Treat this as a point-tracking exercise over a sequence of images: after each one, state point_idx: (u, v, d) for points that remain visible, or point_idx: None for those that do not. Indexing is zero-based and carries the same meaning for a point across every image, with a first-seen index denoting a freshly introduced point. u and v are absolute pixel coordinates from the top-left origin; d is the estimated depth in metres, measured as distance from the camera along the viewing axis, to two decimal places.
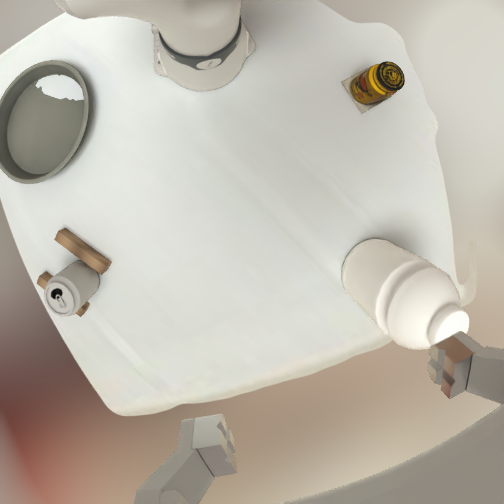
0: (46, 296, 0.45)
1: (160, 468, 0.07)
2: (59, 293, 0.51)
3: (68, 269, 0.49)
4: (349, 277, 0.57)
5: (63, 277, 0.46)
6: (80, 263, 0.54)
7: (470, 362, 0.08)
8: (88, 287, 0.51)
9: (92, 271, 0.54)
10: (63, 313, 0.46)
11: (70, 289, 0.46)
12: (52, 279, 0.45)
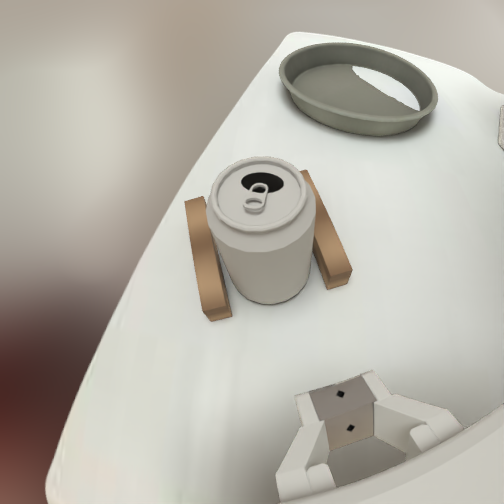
0: (232, 170, 0.21)
1: (293, 446, 0.07)
2: None
3: None
4: None
5: None
6: None
7: (371, 409, 0.08)
8: (305, 258, 0.23)
9: None
10: None
11: None
12: None
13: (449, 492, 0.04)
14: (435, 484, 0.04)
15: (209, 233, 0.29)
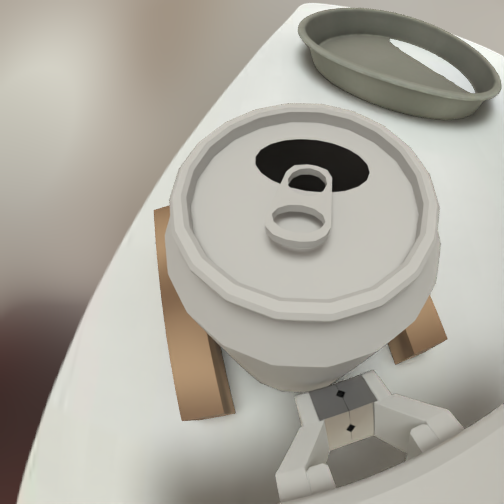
0: (233, 133, 0.08)
1: (293, 446, 0.07)
2: None
3: None
4: None
5: None
6: None
7: (372, 409, 0.08)
8: None
9: None
10: None
11: None
12: None
13: (449, 492, 0.04)
14: (435, 484, 0.04)
15: None
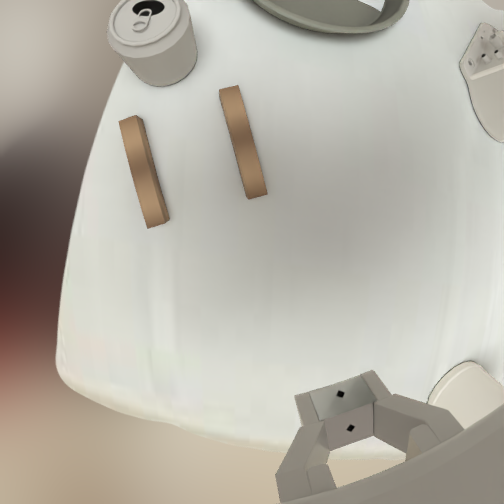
0: (126, 1, 0.18)
1: (293, 446, 0.07)
2: None
3: None
4: (454, 390, 0.41)
5: None
6: None
7: (372, 409, 0.08)
8: (185, 54, 0.25)
9: (195, 53, 0.29)
10: (125, 39, 0.19)
11: (180, 16, 0.20)
12: None
13: (449, 492, 0.04)
14: (435, 484, 0.04)
15: (145, 156, 0.30)
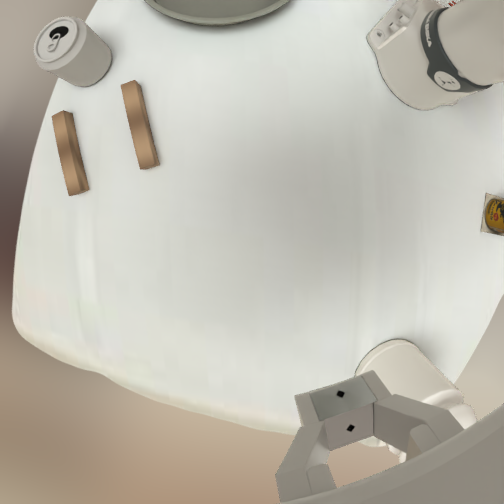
0: (45, 29, 0.23)
1: (293, 446, 0.07)
2: None
3: (91, 30, 0.28)
4: (377, 366, 0.46)
5: (83, 22, 0.25)
6: None
7: (371, 409, 0.08)
8: (91, 61, 0.30)
9: (107, 58, 0.33)
10: (42, 58, 0.24)
11: (78, 36, 0.25)
12: (70, 17, 0.24)
13: (449, 492, 0.04)
14: (435, 484, 0.04)
15: (68, 141, 0.35)
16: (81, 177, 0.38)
